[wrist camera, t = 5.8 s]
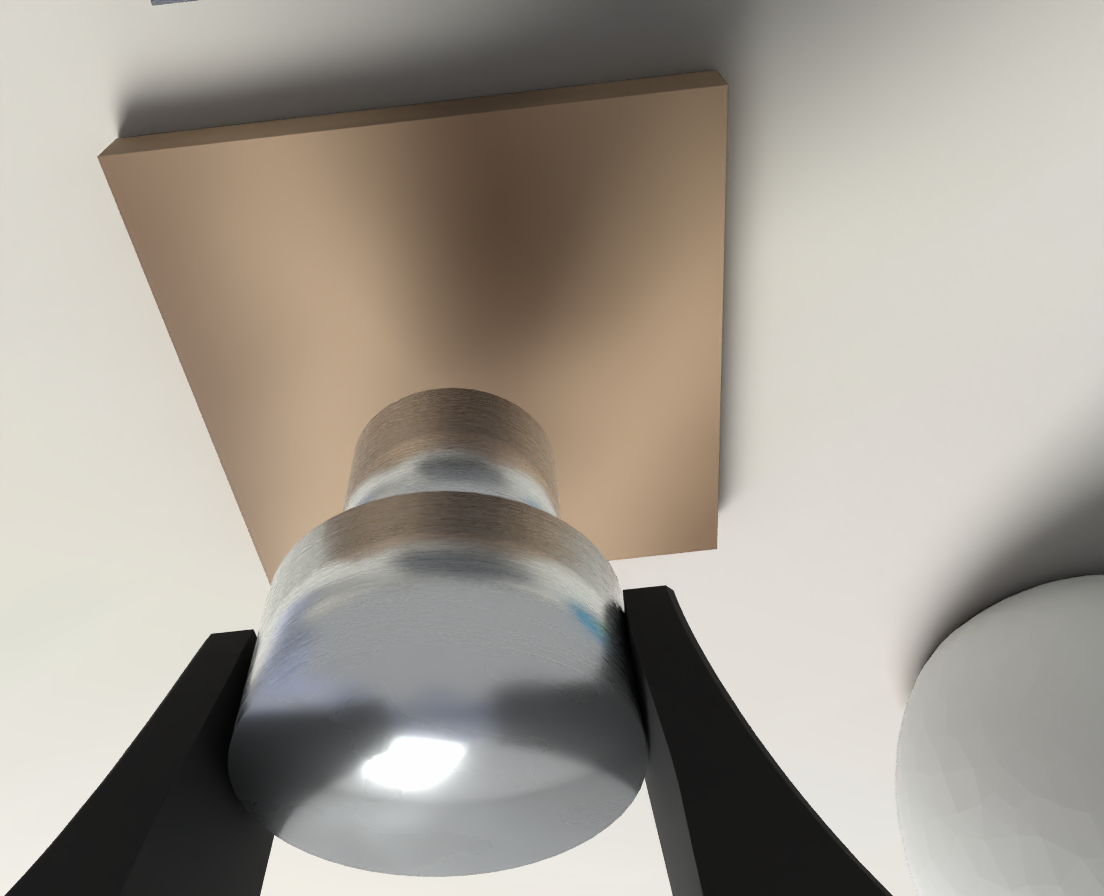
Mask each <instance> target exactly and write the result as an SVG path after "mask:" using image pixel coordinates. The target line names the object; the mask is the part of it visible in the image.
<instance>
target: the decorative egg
mask: <svg viewBox="0 0 1104 896" xmlns="http://www.w3.org/2000/svg"><path fill="white" fill-rule="evenodd" d="M895 785H896V803H897V814H898V822H899V827H900V833H901V838H902V843H903V848H904V852H905V857H906V861H907V865H908V868H909V871H910V874H911V877H912V880H913V884H914V887H915V890H916V893H917V896H1104V575H1087V576H1080V577H1074V578H1068V579H1062V580H1057V581H1053V582H1049V583H1046V584H1042V585H1039V586H1036V587H1034V588H1031V589H1028V590H1026V591H1023V592H1020V593H1018V594H1016V595H1013V596H1011V597H1008V598H1006V599H1004V600H1002V601H1000V602H998V603H996V604H994V605H993V606H991V607H989V608H987V609H985V610H984V611H982V612H981V613H979V614H977V615H976V616H975V617H973V618H972V619H970V620H969V621H967V622H966V623H965V624H963V625H962V626H960V627H959V628H957V629H956V630H955V631H953V632H952V633H951V634H950V635H949V636H948V637H947V638H946V639H945V640H944V641H943V642H942V643H941V644H940V645H939V646H938V648H937V649H936V650H935V652H934V653H933V654H932V656H931V657H930V658H929V660H928V661H927V662H926V664H925V665H924V666H923V668H922V670H921V672H920V673H919V675H918V677H917V680H916V682H915V684H914V687H913V689H912V692H911V694H910V696H909V699H908V702H907V706H906V709H905V713H904V716H903V720H902V724H901V729H900V733H899V739H898V745H897V757H896V771H895Z"/></svg>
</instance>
